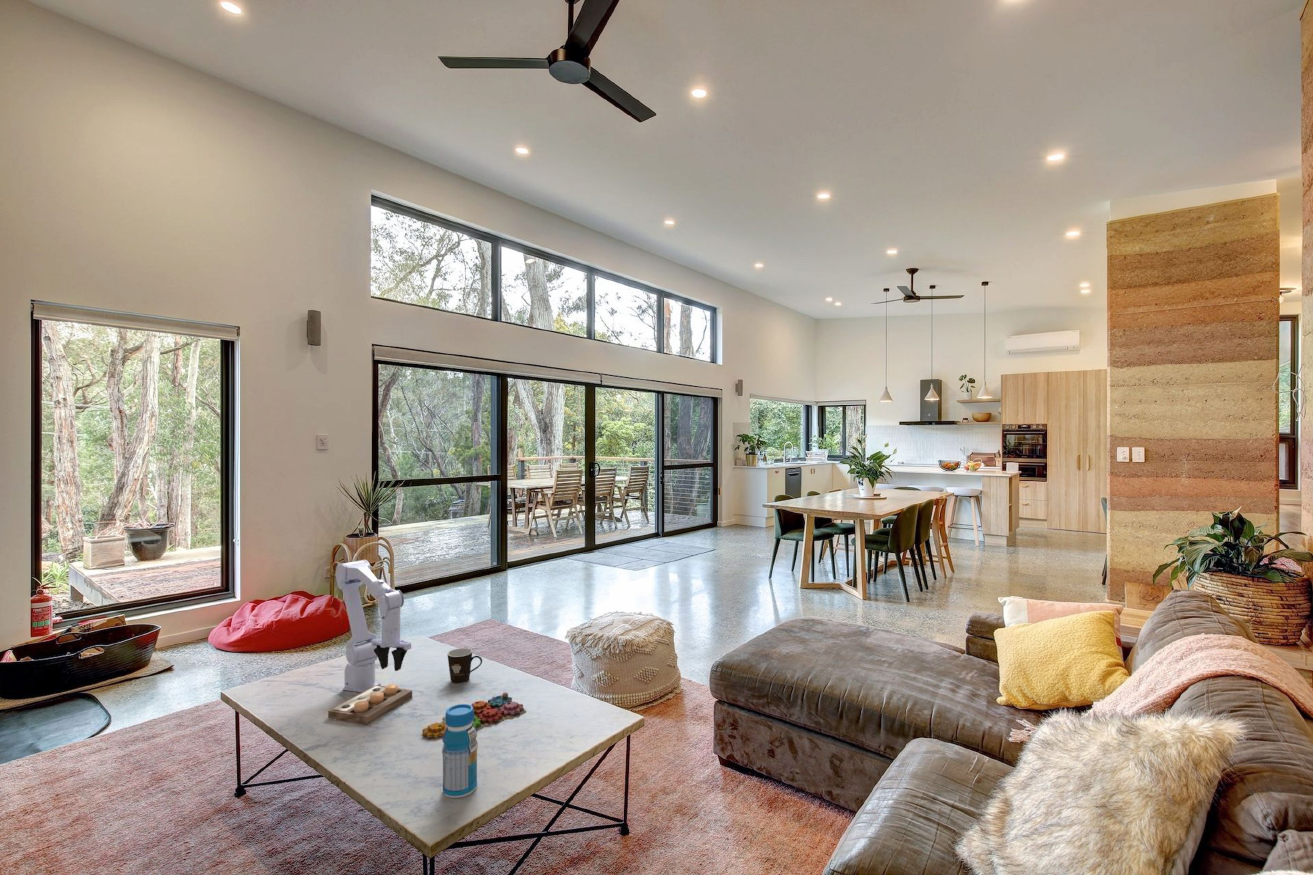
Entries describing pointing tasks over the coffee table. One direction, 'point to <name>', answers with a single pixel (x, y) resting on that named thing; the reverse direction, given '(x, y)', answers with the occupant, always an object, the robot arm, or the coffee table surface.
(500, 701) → the gear puzzle
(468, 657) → the coffee mug
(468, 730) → the beverage bottle
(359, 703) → the button
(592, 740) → the coffee table surface
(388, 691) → the button
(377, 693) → the button
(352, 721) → the button board
